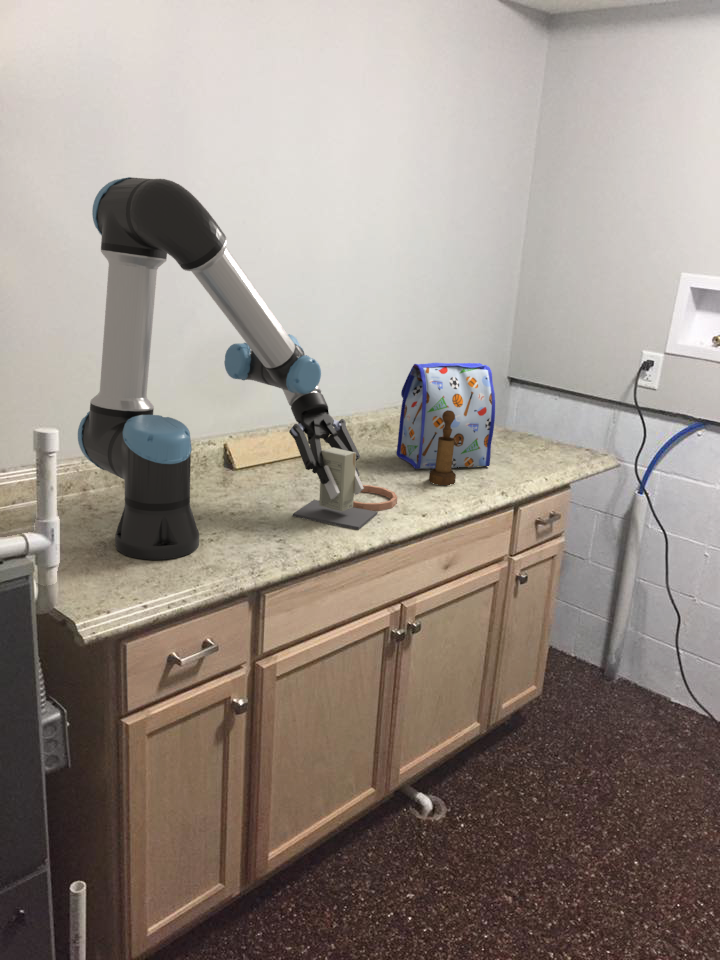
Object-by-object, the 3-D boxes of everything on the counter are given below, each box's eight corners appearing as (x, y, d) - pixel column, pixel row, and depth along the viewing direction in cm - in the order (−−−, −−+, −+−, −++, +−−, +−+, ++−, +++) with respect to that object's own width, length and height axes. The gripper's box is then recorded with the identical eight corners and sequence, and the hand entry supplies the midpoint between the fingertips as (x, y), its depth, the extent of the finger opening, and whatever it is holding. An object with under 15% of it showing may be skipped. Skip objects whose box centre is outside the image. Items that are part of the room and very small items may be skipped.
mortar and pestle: (453, 487, 204) (461, 415, 199) (427, 484, 205) (434, 412, 200) (456, 480, 210) (463, 409, 205) (430, 476, 211) (437, 406, 206)
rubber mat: (358, 529, 171) (359, 527, 171) (292, 516, 176) (292, 513, 176) (377, 514, 181) (377, 511, 181) (313, 502, 186) (314, 499, 186)
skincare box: (353, 508, 178) (358, 452, 174) (341, 512, 174) (346, 456, 171) (329, 500, 181) (333, 446, 178) (317, 505, 178) (321, 449, 174)
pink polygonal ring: (384, 514, 181) (384, 508, 181) (326, 503, 186) (326, 496, 185) (403, 497, 193) (404, 491, 193) (349, 487, 198) (349, 481, 197)
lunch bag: (462, 451, 237) (473, 357, 229) (494, 468, 223) (506, 368, 215) (390, 455, 228) (398, 357, 220) (418, 473, 214) (428, 368, 206)
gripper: (332, 406, 190) (372, 495, 182) (262, 413, 178) (302, 508, 171) (348, 387, 184) (390, 479, 177) (277, 393, 173) (319, 491, 166)
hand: (347, 493), depth 174 cm, fingers closed on skincare box, 6 cm apart
